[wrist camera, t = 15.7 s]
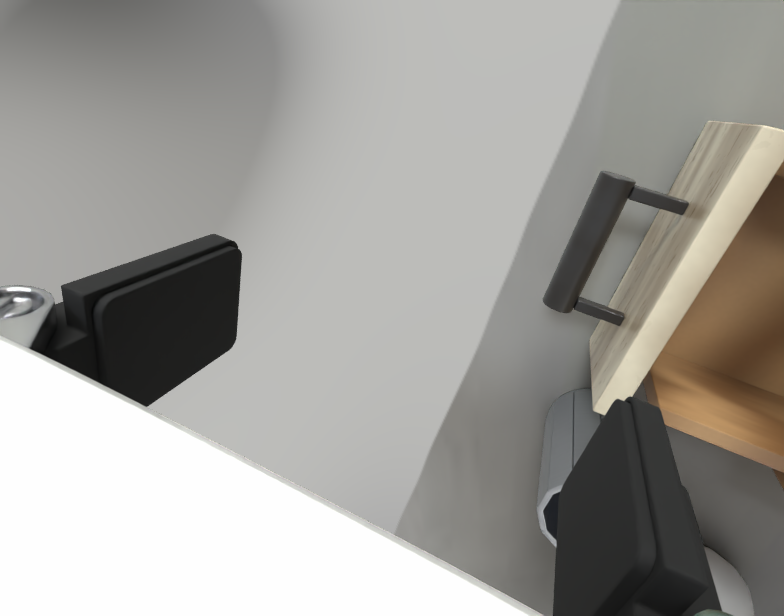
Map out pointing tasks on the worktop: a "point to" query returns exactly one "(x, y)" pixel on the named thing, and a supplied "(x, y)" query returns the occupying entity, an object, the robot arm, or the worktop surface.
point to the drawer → (695, 293)
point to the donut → (729, 586)
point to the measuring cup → (563, 451)
